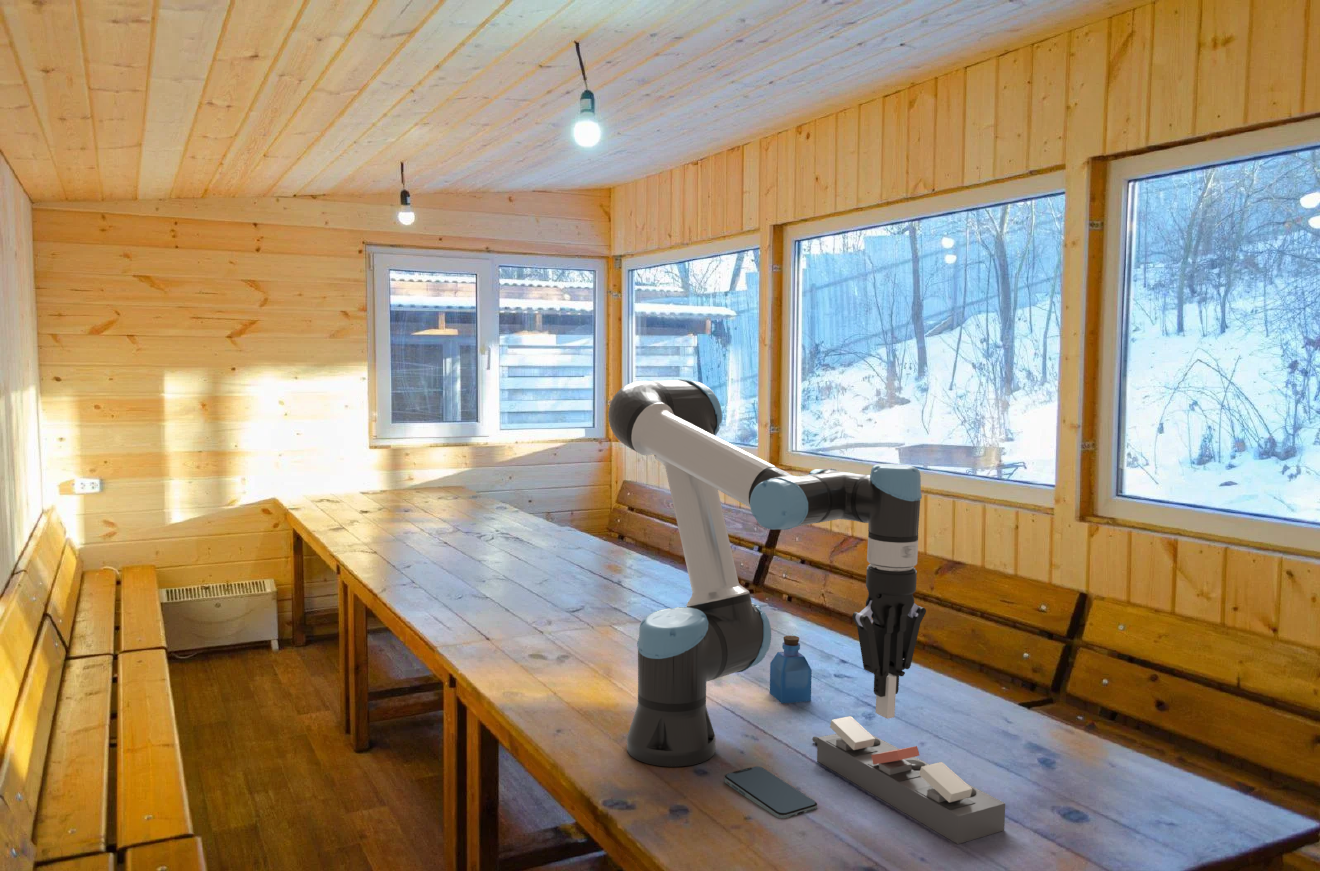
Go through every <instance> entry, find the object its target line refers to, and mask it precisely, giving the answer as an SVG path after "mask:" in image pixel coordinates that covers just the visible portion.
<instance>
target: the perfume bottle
mask: <svg viewBox="0 0 1320 871" xmlns="http://www.w3.org/2000/svg"><path fill="white" fill-rule="evenodd" d="M799 641H800V637H799V636H796V635H784V636H783V642H782V644H781V645H782V647H781V648H782V650H783V651H778V652H777V653H776V654H775V655H774V657H773V658H772V660H771V661H770V662H769V663H770V664H769V665H770V666H769V694H770V695H771V696H773V698H774V699H776V700H777V701H778V702H780V704H792V703H793V704H794V703H804V702H811V701H812V677H813V676H812V674H813V673H812V671H813V670H812V668H811V666H810V665H809V663H808V661H807V659H806V657H805V656H804V655H803V654H802V653H800V652H799V651H800V650H801V643H800V642H799Z"/></svg>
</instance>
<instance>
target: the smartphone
mask: <svg viewBox="0 0 1320 871" xmlns="http://www.w3.org/2000/svg"><path fill="white" fill-rule="evenodd" d="M723 781H724V783H725V784H727V786H729V787H730V788H732V789H733V790H735V791H736V792H738V794H741V795H742V796H743V797H745V798H747V800H750V801H751V802H752V803H755V804H756V805H758V806H759V807H761V808H762V809H764V810H765V811H767V812H768V813H770V814H772V815H773V816H775V817H777V818H778V819H787V818H791V817H793V816H797V815H801V814H804V813H808V812H811V811H814V810H817V809H818V802H816V801H815V800H814V799H812V798H811V797H809V796H807V795H806V794H805V793H803V792H801V791H799V790H798V789H797V788H795V787H793V786H792V785H790V784H789V783H788V782H787V781H785V780H782V779H781V778H780V777H778V776H776V775H775V774H773V773H772V772H770V771H769V770H767V769H766V768H764V767H762V766H758V765H756V766H753V767H752V766H750V767H747V768H744V769H740V770H736V771H732V772H728V773H726V774H725V775H724V780H723Z"/></svg>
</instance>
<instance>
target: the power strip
mask: <svg viewBox="0 0 1320 871" xmlns="http://www.w3.org/2000/svg"><path fill="white" fill-rule="evenodd" d="M870 734H871V735H872V736H873V737H874V738H875V741H874V745H873V746H870V747H866V748H861V749H857V750H853V749H852V748H851V747H850V746H849V745H848V744H847V743H846V742H845V741H844V740H843V739H842V738H841V737H840V736H839V735H838V734H836V733H833V734H828V735H824V736H813V737H812V742H813V743H815V744H817V746H816V748H817V750H816V752H817V753H816V761H817V762H818V763H819V764H822V765H823V766H825V767H826V768H828V769H830V770H831V771H833V772H836V773H837V774H838V775H840V776H842V777H844V778H845V779H847V780H848V781H850V782H852V783H854V784H855V785H857V786H859V787H860V788H862V789H863V790H865V791H867V792H868V793H870V794H872V795H874V796H876V797H877V798H879V799H881V801H884V802H886V803H887V804H888V805H891V806H892V807H894V808H896V809H898V810H900V811H901V812H903V813H905V814H906V815H907V816H908V817H909V816H910V817H911V818H913V819H914V820H916V821H918V822H919V823H921V824H923V825H925V826H926V827H928V828H930V829H931V830H933V831H935V832H936V833H938V834H940V835H941V836H943V837H945V838H946V839H948V840H949V841H951V842H953V843H955V844H957V845H960V844H963V843H965V842H966V843H967V842H969V841H973V840H976V839H980V838H983V837H986V836H990V835H994V834H996V833H997V834H998V833H1000V832H1003V831H1005V823H1006V822H1005V821H1006V818H1005V817H1006V802H1004V801H1001V800H1000V799H997V798H996V797H994V796H992V795H990V794H988V793H987V792H985V791H983V790H980V789H978V788H976V787H975V786H973V785H970V784H968V783H966V782H965V783H966V784H968V785H969V786H970V787H971V788H972V793H971V796H970V797H968V798H965V799H961V800H957V801H953V802H950V803H949V802H948V801H947V800H946V799H945V798H944V797H943V796H942V795H941V794H939V793H938V792H937V791H936V790H935V789H934V788H933V787H932V786H931V785H930V784H929V783H928V782H926V781H925V780H924V779H923V778H922V777H921V776H920V775H919V773H920V769H921V767H922V766H926V765H930V763H928V762H926V761H924V760H922V759H920V758H918V757H917V756H915V757H911V758H907V759H903V760H898V761H892V762H886V763H879V764H873V760H872V756H871V755H874V754H879V753H883V752H888V751H892V750H898V749H900V748H899V747H897V746H895V745H892V744H891V743H889V742H888V741H885V740H883V739H881V738H879V737H878V736H875V735H873V734H872V733H870Z"/></svg>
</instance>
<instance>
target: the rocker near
mask: <svg viewBox="0 0 1320 871" xmlns="http://www.w3.org/2000/svg"><path fill="white" fill-rule="evenodd" d="M929 764H930V763H929ZM919 775H920V776H921V777H922V778H923V779H924V780H925V781H926V782H928V783H929V784H930V785H931V786H932V787H933V788H934V789H935V790H936V791H937V792H938V793H939V794H941V795H942V796H943V797H944V798H945V799H946V800H947V801H948V802H949V803H950V802H953V801H957V800H961V799H965V798H968V797H970V796H971V793H972V788H971V787H970V786H969V785H970V784H969V785H968V783H967V784H966V782H965V781H964V780H963V779H962V778H961V777H960V776H959V775H957V774H956V772H954V771H953V770H952V769H951V768H950V767H948V766H947V765H946V764H945V763H944V762H943V761H940V762H934V763H931V764H930V765H926V766H922V767H921V769H920V773H919Z"/></svg>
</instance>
